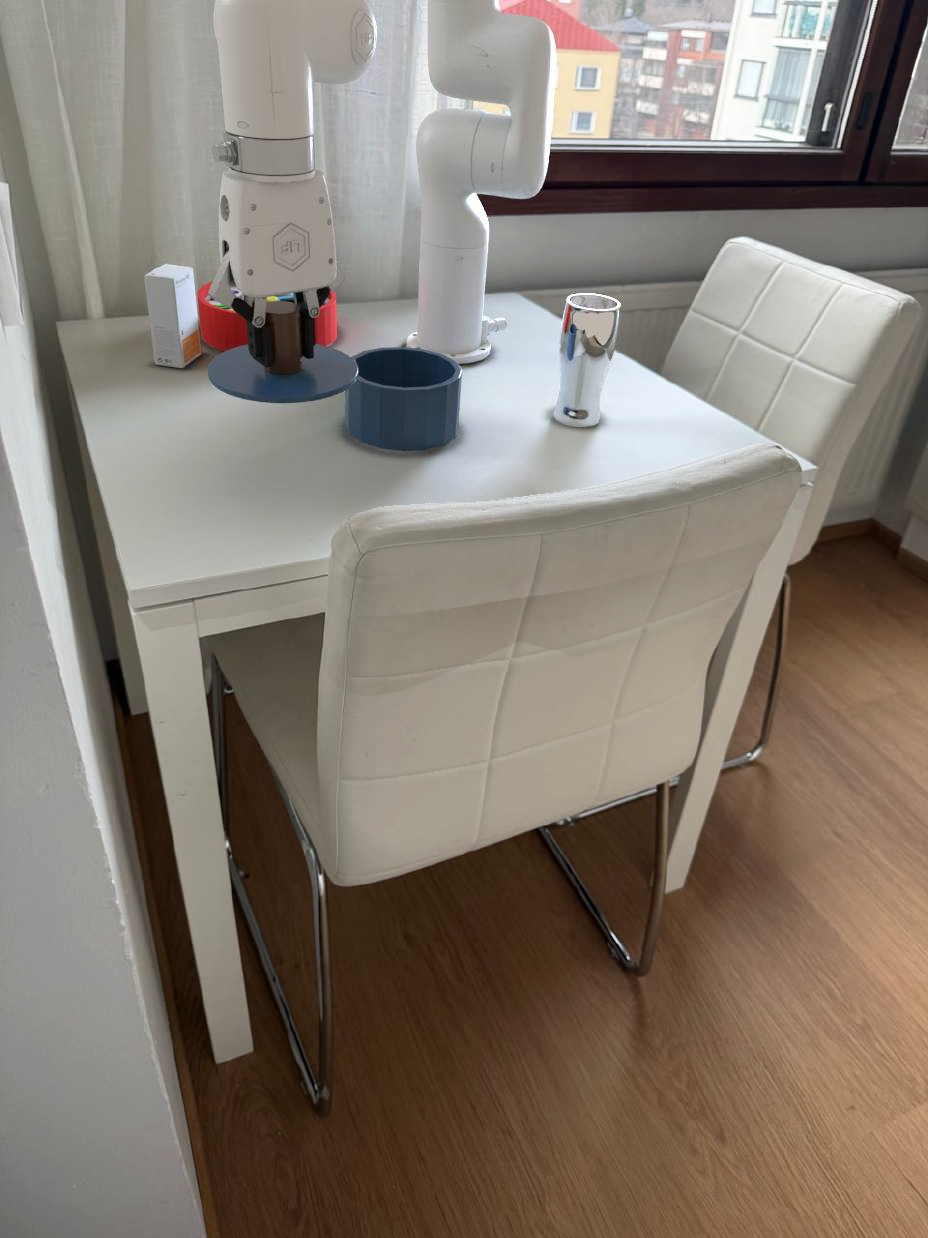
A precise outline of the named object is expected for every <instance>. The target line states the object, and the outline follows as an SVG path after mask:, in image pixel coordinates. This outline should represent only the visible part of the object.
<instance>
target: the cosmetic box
mask: <svg viewBox="0 0 928 1238" xmlns="http://www.w3.org/2000/svg"><path fill="white" fill-rule="evenodd" d="M143 280H144V288H145V296H146V303H147V304H146V305H147V311H148V319H149V327H150V335H151V336H150V337H151V344H152V352H153V360H154V364H155V365H156V366H163V367H170V368H177V369H185V367H187V365H189V364H190V363H191V362H193V361H194V360H196V359H197V358H198V357H200V356H202V348H201V347H202V346H201V335H200V325H199V314H198V306H197V305H198V304H197V294H196V285H195V274H194V268H193V267H191V266H184V265H176V264H170V263H165V264H162V265H161V266H159V267H155V268H154V269H152V270H151V271H149V272H148V273H146V274H144V275H143Z"/></svg>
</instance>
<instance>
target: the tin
mask: <svg viewBox="0 0 928 1238" xmlns="http://www.w3.org/2000/svg"><path fill="white" fill-rule="evenodd" d="M350 357H351V358H352V359H353V360H354V361H355V362H356V364H357V366H358V378H357V380H356V382H355V383H354V384H353V385H352V386H351V387H350V388H349V389H347V390H345V391H344V412H345V413H344V415H345V420H344V421H345V426H346V427H345V428H346V430H347V432H348V435H350V436H352V437H353V438H354V439H355V440H357V441H358V442H360V443H362V444H365V445H369V446H372V447H375V448H377V449H382V450H392V451H398V452H413V451H425V450H426V451H427V450H429V449H433V448H437V447H441V446H444V445H446V444H447V443H449V442H450V441H452V440H456V439H457V436H458V430H459V426H460V425H459V424H460V410H461V409H460V407H461V394H462V393H461V392H462V380H463V379H462V377H463V369H462V367H461V366H460V364H458V363H457V362H456V361H454V360H452V359H451V358H449V357H447V356H445V355H443V354H440V353H436V352H432V351H429V350H424V349H416V348H408V347H406V346H393V347H390V346H389V347H377V348H373V349H368V350H367V349H366V350H363V351H360V352H358V353H357V354H355V355H352V356H350Z"/></svg>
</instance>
